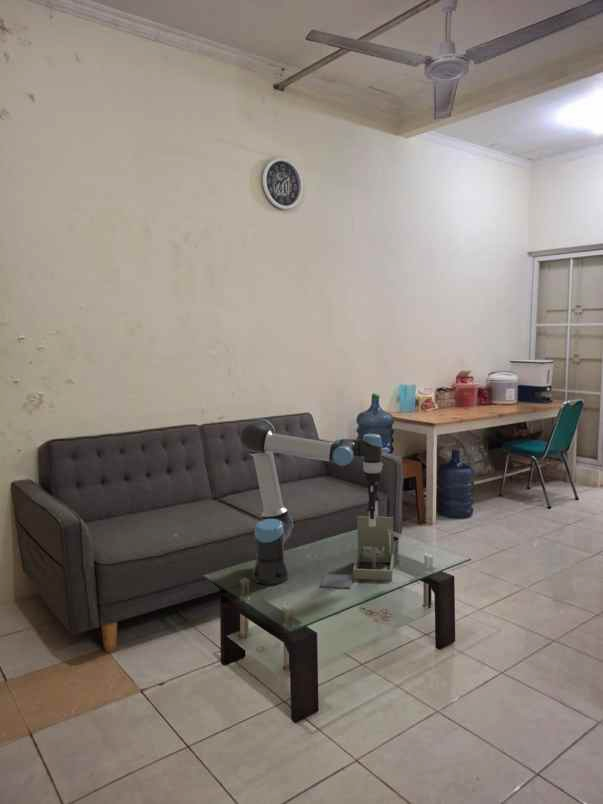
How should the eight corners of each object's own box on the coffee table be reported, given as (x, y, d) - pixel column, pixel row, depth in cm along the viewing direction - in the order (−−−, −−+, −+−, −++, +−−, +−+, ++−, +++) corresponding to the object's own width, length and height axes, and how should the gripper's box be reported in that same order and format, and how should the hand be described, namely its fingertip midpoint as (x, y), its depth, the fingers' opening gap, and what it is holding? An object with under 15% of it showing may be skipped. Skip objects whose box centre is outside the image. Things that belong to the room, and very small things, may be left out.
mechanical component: (386, 572, 247) (385, 549, 245) (361, 571, 249) (361, 548, 248) (386, 569, 249) (386, 546, 248) (362, 568, 251) (362, 545, 250)
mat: (320, 587, 234) (320, 585, 234) (324, 575, 246) (324, 573, 246) (350, 588, 232) (350, 587, 231) (353, 576, 243) (353, 575, 243)
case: (353, 578, 241) (352, 531, 239) (358, 560, 261) (357, 516, 259) (391, 580, 238) (391, 532, 236) (393, 561, 258) (393, 517, 256)
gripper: (380, 478, 231) (380, 530, 234) (383, 464, 256) (384, 512, 258) (360, 478, 233) (361, 530, 235) (366, 464, 257) (367, 511, 260)
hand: (373, 521), depth 247 cm, fingers open, 13 cm apart
